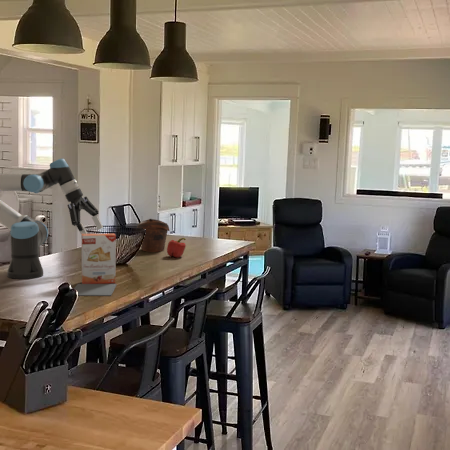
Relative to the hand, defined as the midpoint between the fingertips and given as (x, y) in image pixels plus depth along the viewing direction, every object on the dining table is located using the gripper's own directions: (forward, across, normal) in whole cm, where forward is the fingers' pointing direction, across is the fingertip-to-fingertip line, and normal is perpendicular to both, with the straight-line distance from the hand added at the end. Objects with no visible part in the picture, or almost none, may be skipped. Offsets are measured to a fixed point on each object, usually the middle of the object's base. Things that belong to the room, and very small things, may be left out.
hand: (93, 232), depth 290 cm
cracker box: (+19, -25, -8) cm, 33 cm away
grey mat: (+19, -38, -14) cm, 45 cm away
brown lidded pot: (+26, +63, +13) cm, 69 cm away
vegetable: (+33, +48, -7) cm, 58 cm away
